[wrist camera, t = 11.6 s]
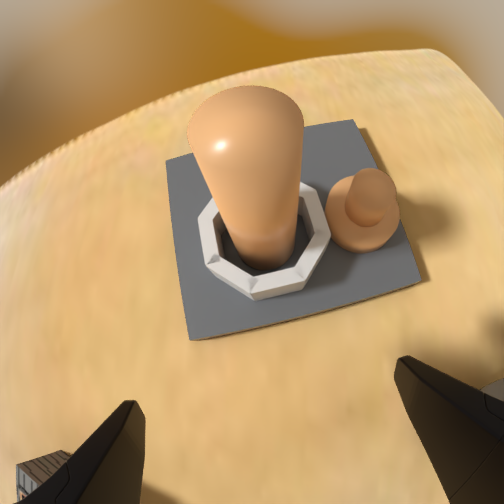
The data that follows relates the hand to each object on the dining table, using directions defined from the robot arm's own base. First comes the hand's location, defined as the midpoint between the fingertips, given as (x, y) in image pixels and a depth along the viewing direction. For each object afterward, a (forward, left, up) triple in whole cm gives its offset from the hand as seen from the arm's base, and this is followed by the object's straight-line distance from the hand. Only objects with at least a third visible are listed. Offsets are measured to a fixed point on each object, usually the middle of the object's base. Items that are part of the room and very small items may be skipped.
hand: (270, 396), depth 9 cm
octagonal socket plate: (+4, -11, -13) cm, 18 cm away
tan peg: (+4, -8, -12) cm, 15 cm away
